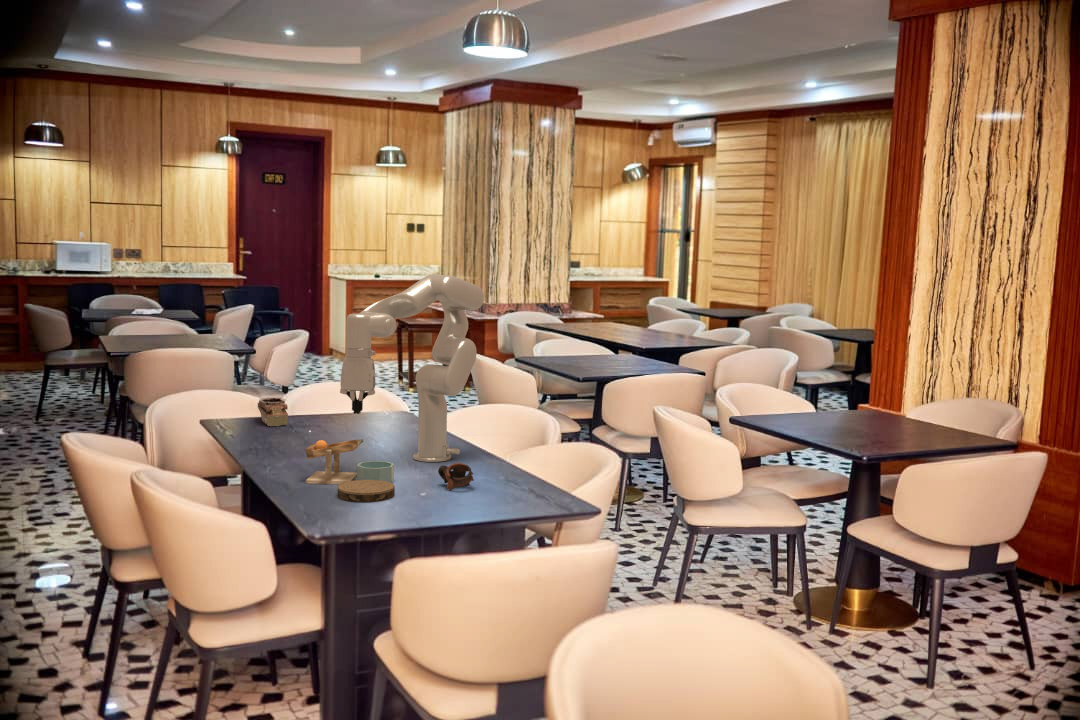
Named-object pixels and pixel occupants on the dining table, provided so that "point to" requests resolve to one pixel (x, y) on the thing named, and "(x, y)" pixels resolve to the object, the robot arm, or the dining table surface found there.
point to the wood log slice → (366, 491)
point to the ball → (320, 444)
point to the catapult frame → (330, 476)
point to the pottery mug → (456, 475)
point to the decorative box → (273, 411)
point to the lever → (333, 448)
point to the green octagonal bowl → (375, 471)
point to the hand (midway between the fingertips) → (357, 413)
